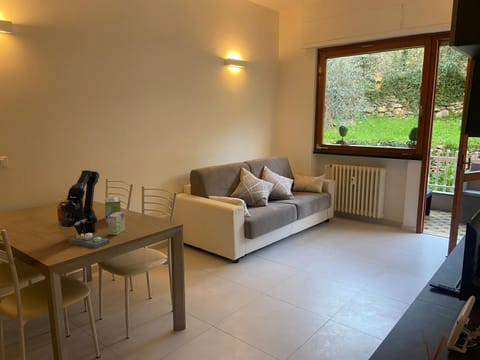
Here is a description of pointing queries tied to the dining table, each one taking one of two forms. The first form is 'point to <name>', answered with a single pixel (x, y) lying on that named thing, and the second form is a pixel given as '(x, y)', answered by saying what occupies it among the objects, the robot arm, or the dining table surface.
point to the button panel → (88, 241)
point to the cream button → (88, 236)
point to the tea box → (112, 206)
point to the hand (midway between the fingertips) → (79, 234)
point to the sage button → (97, 239)
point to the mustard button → (79, 236)
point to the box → (116, 223)
